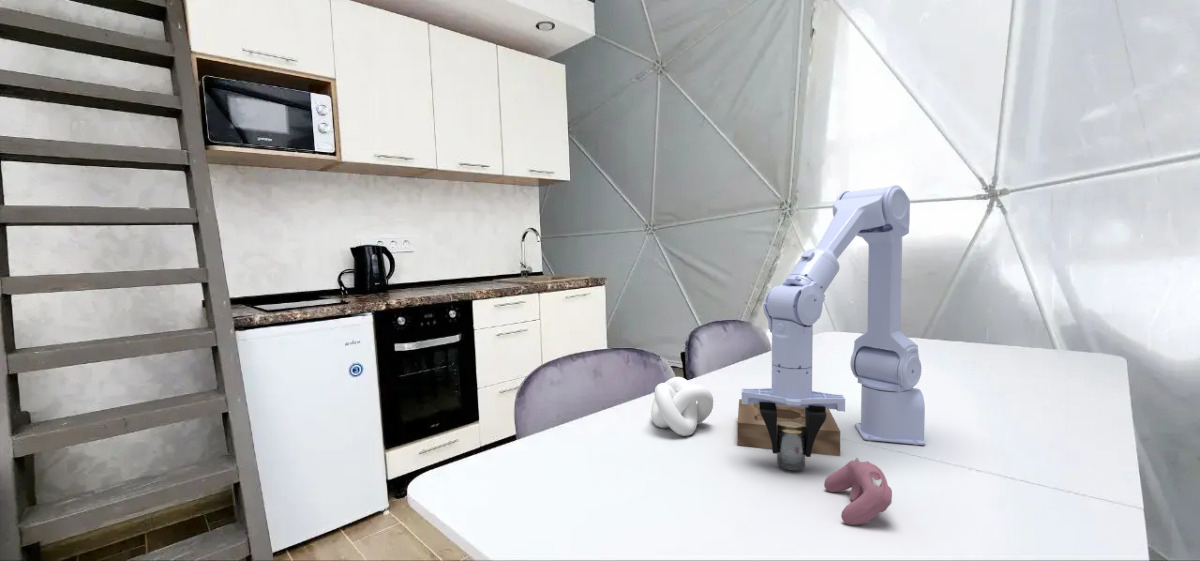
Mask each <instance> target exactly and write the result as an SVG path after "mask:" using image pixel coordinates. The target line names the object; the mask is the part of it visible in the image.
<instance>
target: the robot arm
mask: <svg viewBox="0 0 1200 561" xmlns="http://www.w3.org/2000/svg"><path fill="white" fill-rule="evenodd" d="M910 209H911V202H910V198H909V196H908V195H907V193H906V192H905V190H904V189H903V188H902V187H901V186H900V185H897V184H895V185H894V184H893V185H890V186H887V187H886V186H885V187H878V188H877V187H876V188H870V189H861V190H852V191H849V190H848V191H847V190H845V191H842V192H840V194H839V195H838V196H837V198H836V200H835V201H834V202H833V204H832V215H833V218H832V219H831V222H829V225H828V227H827V229H826V230H825V232H824V234H823V236H822V238H821V240H820V241H819V243H818V245H817V247H816V248H810V249H807V250H805V251H803V253H802V254H801V256H800V259H799V260H798V261H797V263H796V264H795V266H793V267H794V268H793V269H792V270H791V271H790V273H789V275H787V277H786V279H785V280H784V281H783V282H782V284H778V285H776V286H774V287H773V288H772V289H770V290H769V291H768V293H767V294H766V297H765V301H764V302H763V303H762V308H763V313H764V316H765V318H766V319H767V322H768V328H767V329H768V330H769V332H770V333H771V387H769V388H768V387H767V388H741V399H742V404H749V403H754V404H759V408H760V413H761V416H762V418H763V420H764V422H765V424H766V427H767V429H768V432H769V435H770V439H771V443H772V449H771V450H772V454H773V455H774V454H776V455H777V454H778V445H777V408H776V405H781V406H795V407H805V428H806V431H805V458H806V457H807V458H811V457H812V456H811V455H812V453H811V451H812V447H813V444H814V441H815V438H816V436H817V434H818V432H819V430H820V428H821V426H822V424H823V423H824V422H825V419H826V411H825V410H826V409H829V410H836V411H837V412H846V398H845V396H844V395H843V394H836V393H835V394H834V393H826V392H821V391H814V390H813V340H814V339H813V335H814V333H813V329H814V324H815V323H817V321H818V320H820V318H821V315H822V313H823V305H824V301H825V299H826V295H825V293H826V292H827V290H828V288H829V286H831V284H832V282H833V280H834V278H836V275H837V274H838V273H839V271H840V263H839V261H838V259H839V257H841V255H842V254H843V253H844V251H845V250H846V249H847V248H848V247H849V245H850V244H851V243H852V242H853V240H854V239H855V237H860V238H862V239H863V240H864V241H865V242H866V244H868V262H867V263H868V269H867V270H868V271H867V277H868V278H867V280H868V281H867V328H866V329H867V331H866V332H864V333H863V334H862V335H860V336H857V338H856V339H855V340H854V344H853V351H852V354H851V357H850V362H849V363H850V370H851V372H852V374H853V376H854V377H855V378H857V383H858V384H859V385H861V392H860V394H861V397H860V398H861V399H860V400H861V401H860V403H861V404H860V422H854V426H855V428H856V429H857V431H858V433H859V435H860V436H861V438H862V439H863V440H865V441H875V442H885V443H896V444H910V445H920V446H925V445H926V441H925V422H926V421H925V417H926V410H925V408H926V406H925V399H924V395H923V392H922V390H921V389H920V388H917V387H915V386H916V385H918V383H919V381H920V379H921V376H922V363H921V359H920V355H919V345H917V344H916V342H914V341H913V340H912V339H911V338H909V337H908V336H907V335H905V334H904V333H903V332H902V328H901V326H902V325H901V324H902V323H901V322H902V317H901V316H902V281H903V280H902V277H903V276H902V274H903V273H902V272H903V270H902V268H903V237H905V236H907V235H908V234H909V233H910V224H911V223H910V221H911V220H910V219H911V217H910V215H911V210H910Z"/></svg>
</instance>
